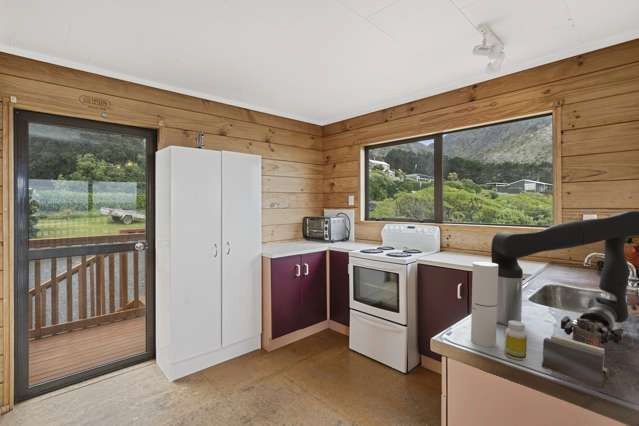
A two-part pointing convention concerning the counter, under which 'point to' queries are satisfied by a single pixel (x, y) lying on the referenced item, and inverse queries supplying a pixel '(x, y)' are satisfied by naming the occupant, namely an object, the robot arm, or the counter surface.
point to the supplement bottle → (515, 340)
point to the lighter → (586, 332)
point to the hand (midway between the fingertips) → (584, 335)
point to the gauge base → (574, 362)
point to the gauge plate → (579, 345)
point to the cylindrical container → (484, 303)
